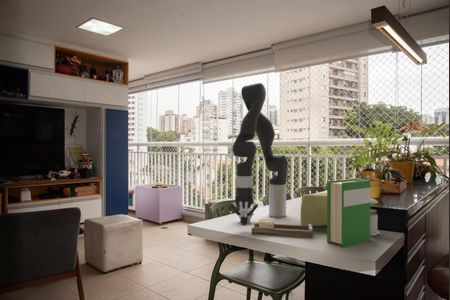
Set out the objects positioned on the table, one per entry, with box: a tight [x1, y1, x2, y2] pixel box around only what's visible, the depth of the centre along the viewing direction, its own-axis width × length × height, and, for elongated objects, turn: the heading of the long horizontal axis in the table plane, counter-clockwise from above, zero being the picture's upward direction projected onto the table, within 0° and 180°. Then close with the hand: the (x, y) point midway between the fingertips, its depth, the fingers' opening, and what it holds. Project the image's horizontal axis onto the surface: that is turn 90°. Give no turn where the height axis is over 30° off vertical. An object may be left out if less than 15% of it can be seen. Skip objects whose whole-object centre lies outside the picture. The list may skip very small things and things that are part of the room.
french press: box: [365, 175, 381, 236], centre depth 140 cm, size 10×12×25 cm
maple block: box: [258, 218, 275, 229], centre depth 139 cm, size 6×6×4 cm
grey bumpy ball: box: [238, 205, 254, 223], centre depth 158 cm, size 9×8×10 cm
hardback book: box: [326, 178, 371, 248], centre depth 125 cm, size 18×7×24 cm, turn 125°
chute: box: [250, 222, 314, 238], centre depth 137 cm, size 10×25×4 cm, turn 78°
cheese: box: [300, 192, 327, 227], centre depth 153 cm, size 22×10×15 cm, turn 110°
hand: (244, 224), depth 141 cm, fingers closed
